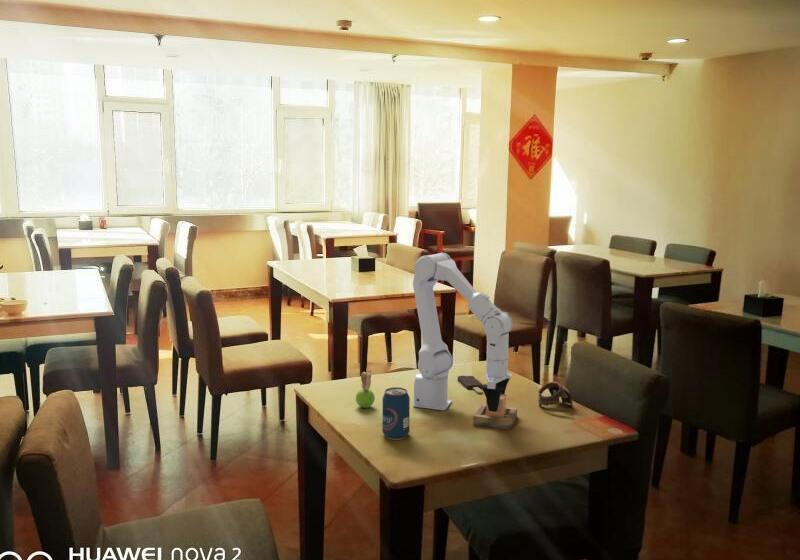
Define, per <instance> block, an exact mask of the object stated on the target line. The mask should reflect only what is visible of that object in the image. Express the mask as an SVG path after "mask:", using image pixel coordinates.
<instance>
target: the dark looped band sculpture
mask: <svg viewBox="0 0 800 560" xmlns="http://www.w3.org/2000/svg"><path fill="white" fill-rule="evenodd" d="M546 390H548V392H549V393H550V395H548V396H544V395H542V394H543V392H545V391H546ZM560 399H561V401H560ZM537 401H538V402H537V403H538V405H539V407H542V406H546V407H547V406H553V405H556V404H557V405H561V403H562V404H564V403H565V404H570V406H571V409H574V401H573V397H572V394H571V392H570V391H569V389H568V388H567V387H566V386H564V385H562V384H561V383H560V382H558V381H555V380H552V381H549V382H547V383H545V384H543V385H542V386H541V387H540V388H539V389H538V399H537Z"/></svg>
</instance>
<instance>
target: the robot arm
mask: <svg viewBox="0 0 800 560" xmlns="http://www.w3.org/2000/svg"><path fill="white" fill-rule="evenodd" d="M413 269H414V276H413V280H412V281H413V282H412V287H413V293H414V299H415V304H416V311H417V315H418V322H419V327H420V333H421V339H422V340H421V341H422V346H421V348H420V349H419V351H418V361H417V369H418V371H419V373H417V374H416V376H415V378H414V382H413V389H414V390H413V405H412V406H413V407H414V408H421V409H422V408H423V409H429V410H436V411H445V410H447V408H448V407H449V406H450V405H451V403H452V402H453V401H452V400H450V399H449V398H448V390H449V388H448V385H449V384H448V383H449V373H450V370H451V368H452V367H453V364H454V359H453V356H452V354H451V352H450V351H449V346H448V345H447V344H446V343H445V342H444V341H443V339H442V334H441V328H440V323H439V321H440V320H439V316H438V315H439V314H438V310H437V309H438V308H437V303H436V298H435V293H434V292H435V291H434V286H435V285H436V284H437V283H438V282H439V281H444V282H447V283H449V284H450V286H452V287H453V288H454V289H455V290H456V291H457V292H458V293H459V294H460V295H461V296H462V297H463V298H465V300H466V301H467V303H466V304H467V308H468V309H469V310H470V312H471V313H472V314H473V315H474V316H475V317H476V318H477V319H478V320H479V322H481V324H482V329H483V332H484V334H485V335H486V365H485V367H486V368H485V370H486V371H485V374H484V376H485V378H486V381H487V383H482V384H483V386H482V389H481V390H482V391H483V392H482V393H484V395H485V396H484V397H485V399H487V404H488V409H489V411H493V412H497V409H498V405H499V399H500V396H501V394H506V389H507V386H508V383H509V382H510V379H512V378H513V374H512V373H508V371H509V370H508V367H509V365H508V364H509V338H510V336H509V332H511V330H512V329H513V325H514V322H513V321H514V320H513V319H512V317H511V315H510V314H509V313H508V312H506V311H501V309H500V308H499V307H497V305H495V303H493V302H492V301H491V300H490V296H489V295H488V294H485V293H484V292H477V290H476V289H475V288H474V287H473V286H472V284H471V283H470V282H469V280H468V279H467V278H466V277H465V276H464V274H463V273H462V272H461V271H460V270H459V269H458V267H457V264H456V261H455V260H454V259H452V258H451V256H450V255H449V254H448V253H445V252H439V253H435V254H428V255H422V256H420V257H419V258H418V259H417V260H416V262H415V263H414V264H413Z"/></svg>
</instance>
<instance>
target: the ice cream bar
mask: <svg viewBox="0 0 800 560" xmlns="http://www.w3.org/2000/svg"><path fill="white" fill-rule="evenodd" d="M457 382H459V384H461V385H462V386H463V388H464V389H466V390H467V391H468V390H469V391H470V390H474V392H475V393H477V394H483V393H484V392H483V390H482V386H483V384H484V383H482V382H481V381H480V380H479V379H477V378H476V377H475V376H473V375H458V376H457Z"/></svg>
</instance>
